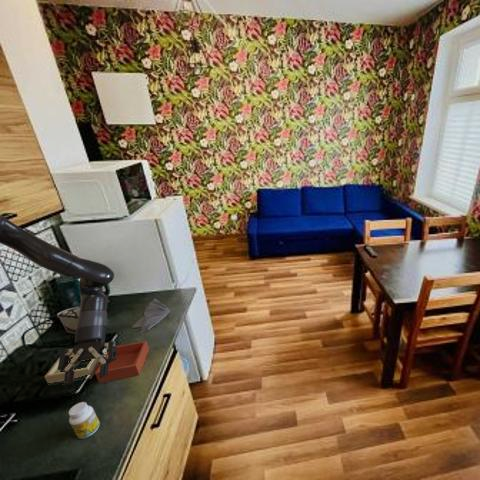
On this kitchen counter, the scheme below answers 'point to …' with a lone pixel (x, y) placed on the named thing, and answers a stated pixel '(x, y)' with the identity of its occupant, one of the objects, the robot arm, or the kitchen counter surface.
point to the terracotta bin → (126, 361)
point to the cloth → (152, 315)
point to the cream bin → (58, 376)
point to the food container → (69, 319)
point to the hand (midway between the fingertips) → (86, 381)
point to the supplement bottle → (83, 420)
